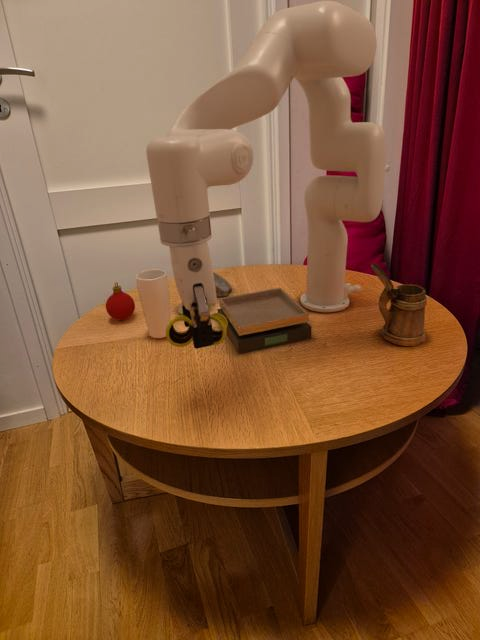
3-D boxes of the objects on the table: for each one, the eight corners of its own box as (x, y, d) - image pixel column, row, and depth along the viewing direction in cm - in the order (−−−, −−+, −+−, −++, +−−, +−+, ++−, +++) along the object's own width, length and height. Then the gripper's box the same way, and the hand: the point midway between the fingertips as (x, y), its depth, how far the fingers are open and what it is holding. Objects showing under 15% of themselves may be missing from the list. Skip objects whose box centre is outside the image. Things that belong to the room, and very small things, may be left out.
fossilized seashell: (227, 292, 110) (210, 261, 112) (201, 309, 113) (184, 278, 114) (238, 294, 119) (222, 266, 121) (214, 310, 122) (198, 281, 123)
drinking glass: (169, 341, 92) (159, 280, 86) (141, 340, 94) (130, 279, 87) (178, 327, 98) (171, 269, 91) (152, 326, 100) (142, 268, 93)
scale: (281, 307, 105) (281, 295, 104) (311, 338, 90) (312, 324, 89) (218, 320, 101) (217, 306, 99) (239, 354, 86) (238, 339, 85)
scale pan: (280, 294, 103) (280, 287, 102) (308, 321, 89) (309, 313, 88) (219, 305, 99) (218, 298, 98) (239, 336, 85) (238, 327, 84)
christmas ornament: (132, 324, 101) (125, 287, 96) (104, 325, 102) (96, 288, 97) (140, 312, 107) (133, 276, 103) (114, 312, 108) (106, 277, 103)
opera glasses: (229, 335, 70) (226, 307, 68) (227, 346, 65) (225, 316, 63) (173, 338, 70) (169, 310, 69) (167, 349, 65) (163, 320, 64)
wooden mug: (355, 331, 92) (362, 255, 84) (411, 324, 94) (423, 249, 86) (372, 351, 85) (382, 270, 76) (433, 343, 86) (449, 262, 78)
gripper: (226, 241, 53) (235, 357, 61) (197, 213, 67) (208, 309, 76) (168, 250, 51) (186, 368, 59) (151, 219, 66) (168, 317, 74)
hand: (198, 334), depth 67 cm, fingers closed on opera glasses, 6 cm apart
